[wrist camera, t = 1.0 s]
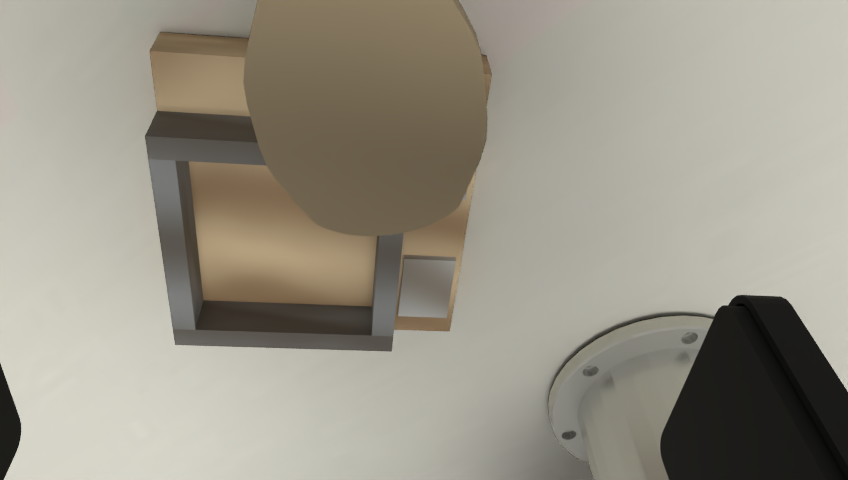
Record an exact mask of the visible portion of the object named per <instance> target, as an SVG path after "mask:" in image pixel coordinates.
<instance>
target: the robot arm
mask: <svg viewBox="0 0 848 480" xmlns="http://www.w3.org/2000/svg"><path fill="white" fill-rule="evenodd" d="M548 409H549V416H550V421H551V425H552V428H553V431H554V435H555V436H556V438H557V439H558V441H559V442H560V444H561V446H563V447H564V448H565V449H566V450H567V451H568V452H569V453H570V454H571V455H573V456H575V457H577V458H578V459H580V460H582V461H584V462H586V463H589V465H590V468H591V472H592V476H593V479H594V480H848V392H847V390H846V388H845V387H844V385H843V384H842V382H841V381H840V379H839V378H838V376H837V375H836V373H835V372H834V370H833V368H832V367H831V365H830V364H829V362H828V361H827V359H826V358H825V356H824V355H823V353H822V352H821V350H820V348H819V347H818V345H817V344H816V342H815V341H814V339H813V338H812V336H811V335H810V333H809V331H808V330H807V328H806V327H805V325H804V324H803V322H802V321H801V319H800V318H799V316H798V315H797V313H796V311H795V310H794V308H793V307H792V305H791V304H790V303H789V302H788V301H787V300H786V299H784V298H782V297H775V296H750V295H739V296H736V297H735V298H733V299H732V300H731V302H730V303H729V305H728V306H722V307H720V308H719V309H718V311H717V312H716V314H715V317H714V319H710V318H706V317H696V316H669V317H658V318H654V319H649V320H644V321H639V322H636V323H633V324H630V325H627V326H624V327H621V328H618V329H616V330H614V331H612V332H610V333H608V334H606V335H604V336H602V337H600V338H598V339H596V340H595V341H593V342H592V343H590V344H589V345H588V346H586V347H585V348H583V349H582V350H580V351H579V352H578V353H577V354H576V355H575V356H574V357H573V358H572V359H571V360H570V361H569V362H568V363H567V364H566V365H565V366H564V368H563V369H562V370H561V372H560V373H559V374H558V376H557V377H556V379H555V382H554V384H553V386H552V388H551V391H550V396H549V402H548ZM20 436H21V423H20V418H19V415H18V413H17V410H16V407H15V404H14V401H13V398H12V395H11V393H10V390H9V387H8V384H7V381H6V378H5V376H4V373H3V370H2V367H1V364H0V480H4V478H5V475H6V473H7V471H8V469H9V467H10V464H11V462H12V460H13V458H14V456H15V453H16V451H17V448H18V446H19V442H20Z"/></svg>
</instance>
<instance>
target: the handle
mask: <svg viewBox="0 0 848 480" xmlns="http://www.w3.org/2000/svg"><path fill="white" fill-rule="evenodd" d="M243 84H244V90H245V96H246V102H247V106H248V110H249V113H250V117H251V120H252V124H253V128H254V131H255V135H256V138H257V142H258V145H259V148H260V151H261V153H262V156H263V158H264V161H265V163H266V165H267V167H268V169H269V170H270V172H271V173H272V175H273V176H274V177H275V179H276V180H277V182H278V183H279V184H280V186H281V187H282V188H283V189H284V190H285V191H286V192H287V194H288V195H289V196H290V197H291V198H292V199H293V200H294V201H295V203H296V204H297V205H298V206H299V207H300V208H301V209H302V210H303V211H304V212H305V213H306V214H307V216H308V217H309V218H310V219H311V220H312V221H313V222H314V223H315V224H316V225H318V226H320V227H323V228H326V229H329V230H331V231H335V232H339V233H343V234H347V235H358V236H382V235H393V234H399V233H404V232H410V231H414V230H417V229H420V228H423V227H426V226H429V225H431V224H433V223H435V222H437V221H439V220H441V219H443V218H444V217H446V216H447V215H449V214H450V213H452V212H453V211H455V210H456V209H457V208H458V207H459V205H460V203H461V201H462V199H463V197H464V195H465V193H466V190H467V188H468V186H469V184H470V182H471V180H472V177H473V175H474V173H475V171H476V168H477V166H478V164H479V161H480V159H481V156H482V152H483V149H484V145H485V142H486V133H487V108H486V93H485V78H484V70H483V62H482V56H481V51H480V47H479V44H478V40H477V36H476V33H475V31H474V29H473V27H472V25H471V23H470V21H469V19H468V17H467V15H466V13H465V11H464V9H463V7H462V6H461V4H460V2H459V0H258V1H257V6H256V10H255V14H254V18H253V23H252V27H251V31H250V36H249V41H248V46H247V51H246V56H245V64H244V79H243Z"/></svg>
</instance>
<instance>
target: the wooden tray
mask: <svg viewBox="0 0 848 480" xmlns="http://www.w3.org/2000/svg"><path fill="white" fill-rule="evenodd" d="M248 41H249V38H235V37H221V36H207V35H193V34H179V33H165V32H160V34H159V35H158V37H157V39H156V41H155V42H154V44H153V46H152V48H151V49H150V58H151V66H152V74H153V81H154V89H155V97H156V105H157V112H156V115H155V117H154V119H153V121H152V123H151V125H150V127H149V129H148V131H147V133H146V135H145V139H146V146H147V153H148V160H149V167H150V174H151V181H152V188H153V195H154V201H155V208H156V215H157V222H158V229H159V236H160V243H161V250H162V257H163V264H164V271H165V278H166V285H167V291H168V298H169V305H170V312H171V319H172V326H173V333H174V340H175V345H199V346H232V347H265V348H297V349H330V350H363V351H392V342H393V332H394V329H395V330H424V331H450V325H451V319H452V313H453V307H454V301H455V295H456V289H457V283H458V277H459V270H460V264H461V258H462V252H463V246H464V240H465V234H466V228H467V222H468V216H469V210H470V204H471V198H472V191H473V185H474V179H475V173H476V171H475V173H474V175H473V177H472V180H471V182H470V184H469V186H468V188H467V190H466V193H465V195H464V197H463V199H462V201H461V203H460V205H459V207H458V208H457V209H456V210H455V211H453V212H452V213H450V214H449V215H447V216H446V217H444V218H443V219H441V220H439V221H437V222H435V223H433V224H431V225H429V226H426V227H423V228H420V229H417V230H414V231H410V232H404V233H399V234H393V235H382V236H358V235H347V234H343V233H339V232H335V231H331V230H329V229H326V228H323V227H320V226H318V225H316V224H315V223H314V222H313V221H312V220H311V219H310V218H309V217H308V216H307V214H306V213H305V212H304V211H303V210H302V209H301V208H300V207H299V206H298V205H297V204H296V203H295V201H294V200H293V199H292V198H291V197H290V196H289V195H288V194H287V192H286V191H285V190H284V189H283V188H282V187H281V186H280V184H279V183H278V182H277V180H276V179H275V177H274V176H273V175H272V173H271V172H270V170H269V169H268V167H267V165H266V163H265V161H264V158H263V156H262V153H261V151H260V148H259V145H258V142H257V138H256V135H255V131H254V128H253V124H252V120H251V117H250V113H249V110H248V106H247V102H246V96H245V90H244V84H243V79H244V64H245V56H246V51H247V46H248ZM481 56H482V62H483V70H484V78H485V93H486V106H487V100H488V94H489V88H490V82H491V76H492V74H491V70H490V67H489V63H488V60H487V56H486V55H481Z"/></svg>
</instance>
